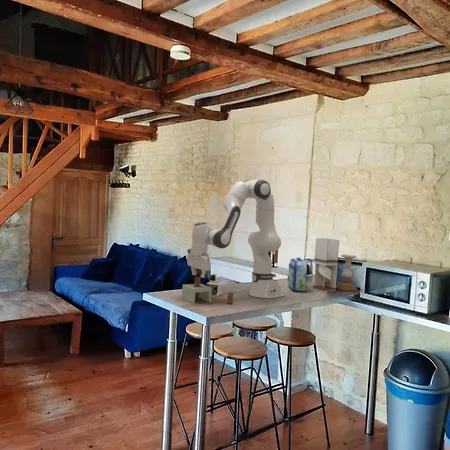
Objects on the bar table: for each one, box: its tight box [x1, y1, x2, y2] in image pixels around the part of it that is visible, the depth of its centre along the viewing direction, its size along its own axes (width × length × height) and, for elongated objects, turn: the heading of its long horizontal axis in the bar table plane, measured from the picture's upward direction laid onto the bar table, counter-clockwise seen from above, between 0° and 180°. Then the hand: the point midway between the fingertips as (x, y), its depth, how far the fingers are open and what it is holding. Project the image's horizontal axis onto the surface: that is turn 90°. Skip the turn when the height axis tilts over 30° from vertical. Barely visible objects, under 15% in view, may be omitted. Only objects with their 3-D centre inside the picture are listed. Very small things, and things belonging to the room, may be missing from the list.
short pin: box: [226, 292, 234, 305], centre depth 247 cm, size 3×3×6 cm
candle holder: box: [336, 254, 358, 291], centre depth 312 cm, size 11×11×24 cm
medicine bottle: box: [206, 273, 223, 297], centre depth 268 cm, size 7×7×12 cm
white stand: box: [311, 237, 340, 293], centre depth 305 cm, size 11×11×35 cm
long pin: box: [194, 276, 201, 302], centre depth 249 cm, size 3×3×13 cm
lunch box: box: [287, 257, 308, 292], centre depth 302 cm, size 26×11×21 cm, turn 178°
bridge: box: [181, 283, 212, 305], centre depth 250 cm, size 12×12×8 cm
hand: (198, 276), depth 249 cm, fingers open, 8 cm apart
